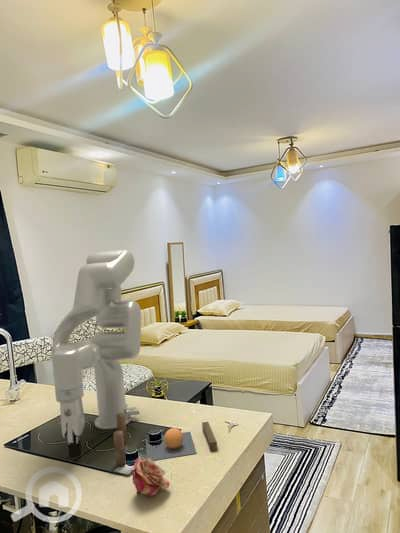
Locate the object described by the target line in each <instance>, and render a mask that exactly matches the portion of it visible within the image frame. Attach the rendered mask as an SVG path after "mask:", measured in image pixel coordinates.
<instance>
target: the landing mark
mask: <svg viewBox="0 0 400 533" xmlns="http://www.w3.org/2000/svg"><path fill="white" fill-rule="evenodd" d="M182 434H183V442H182V444H181V446H180V447H178V448H176V449H171V448H169V447H168V446H167V445H166V444H165V441H164V436H165V434H164V435H162V436H163V442H162V443H161V444H160V445H157V446H158V447H157V446H155V445H154V446H152V445H150V444H148V442H147V438H148V437H146V438H145V452H146V453H145V454H146V458H147V459H149V458H150V459H151V460H152V462H153V460H154V462H155V461H159V460H168V459H172V458H179V457H186V456H191V455H196V454H197V450H196V446H195V443H194V439H193V437H192V433H191V431H185V432H182ZM156 447H157V448H156ZM154 449H155V450H154Z"/></svg>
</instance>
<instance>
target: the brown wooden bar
mask: <svg viewBox="0 0 400 533" xmlns="http://www.w3.org/2000/svg"><path fill="white" fill-rule="evenodd" d="M201 427H202V432H203V435H204V438H205V441H206V443H207V446H208V448H209V451H210V452H215V451H218V444H217V442H218V441H217V440H216V437H215V435H214V432H213V430H212V428H211V425H210V422H209V421H203V422H201Z"/></svg>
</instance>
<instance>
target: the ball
mask: <svg viewBox="0 0 400 533" xmlns="http://www.w3.org/2000/svg"><path fill="white" fill-rule="evenodd" d="M182 433H183V432H182V431H181V429H178V428H176V427H172V428H169V429H168V430H166V432H165V434H164V435H165V436H164V435H163V436H164V441H165V444H166V445H167V446H168V447H169V448H171V449H176V448H178V447H180V446H181V444H182V442H183V434H182Z"/></svg>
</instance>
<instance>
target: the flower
mask: <svg viewBox="0 0 400 533" xmlns="http://www.w3.org/2000/svg"><path fill="white" fill-rule="evenodd" d="M130 470H131V471H130V472H131V476H132V483H133V485H134V487H135V489H136V490H135V491H136V492H135V493H136V496H139V497H141V496H142V495H143V494H144V495H145V497H148V498H150V499H153V500H155V499H154V497H153V496H155V495H157V494H160V493H161V492H160V490H166V489H168V488H170V484H171V483H170V481H169V480H167V479H166V478H165V477H164V476H165V475H166V471H165V470H163V468H162V467H160V466H159V465H158V464H156V463H155V461H154V460H153V461H152V460H151V459H150V458H149V459H147V457H145V458H143V457H141V458H136V459H135V460H134V464H133V467H132V468H130ZM159 489H160V490H159Z"/></svg>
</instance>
